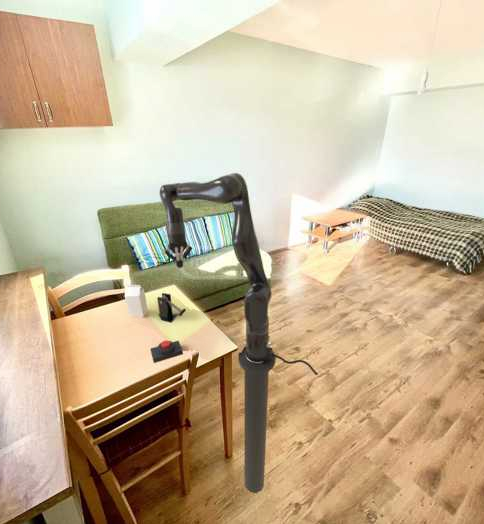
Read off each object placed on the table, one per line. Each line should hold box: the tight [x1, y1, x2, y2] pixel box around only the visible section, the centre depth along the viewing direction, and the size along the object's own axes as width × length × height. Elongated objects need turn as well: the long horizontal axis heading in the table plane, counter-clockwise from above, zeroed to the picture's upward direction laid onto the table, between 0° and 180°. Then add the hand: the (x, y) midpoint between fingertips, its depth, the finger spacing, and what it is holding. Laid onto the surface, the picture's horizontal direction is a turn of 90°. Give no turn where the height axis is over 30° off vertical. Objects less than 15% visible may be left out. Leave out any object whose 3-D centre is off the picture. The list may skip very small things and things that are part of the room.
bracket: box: [156, 292, 179, 323], centre depth 138 cm, size 10×8×13 cm
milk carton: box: [124, 284, 149, 318], centre depth 138 cm, size 7×7×19 cm
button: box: [160, 340, 171, 349], centre depth 115 cm, size 4×4×2 cm
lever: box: [161, 295, 187, 317], centre depth 136 cm, size 13×5×2 cm
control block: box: [149, 340, 184, 364], centre depth 116 cm, size 12×7×4 cm, turn 115°
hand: (180, 267), depth 127 cm, fingers closed
